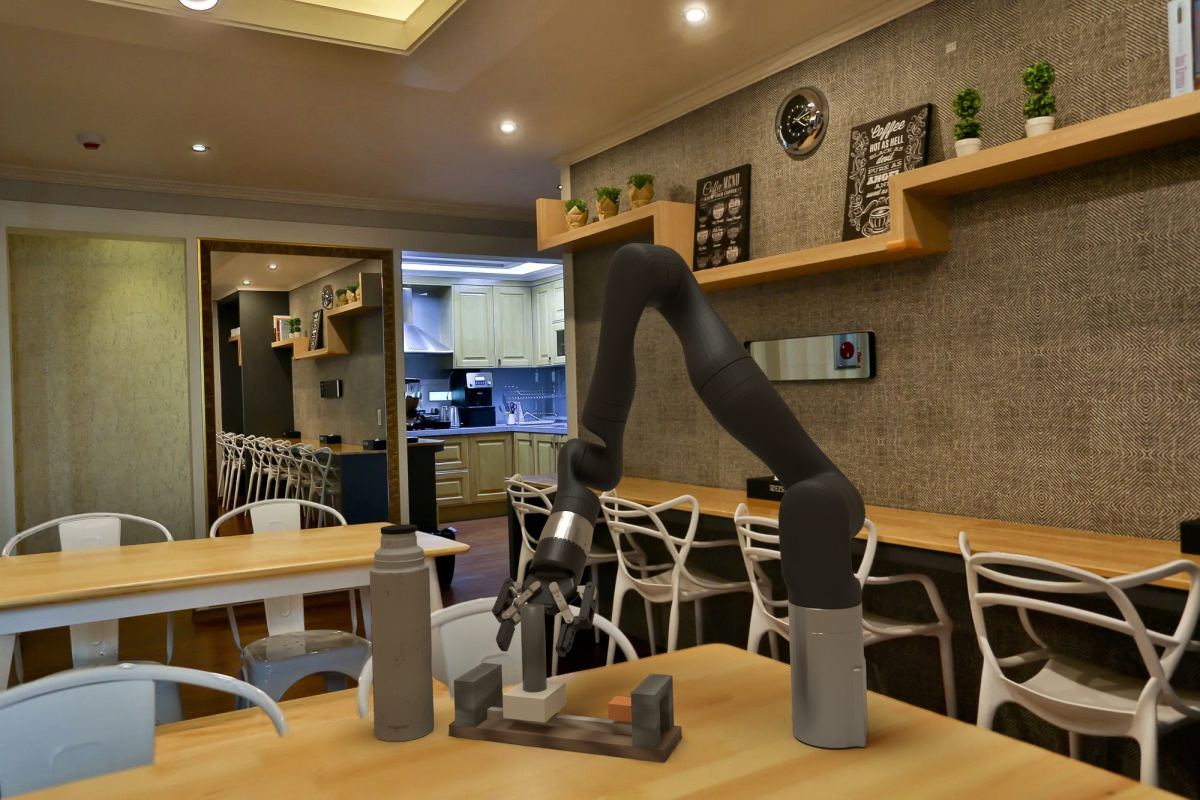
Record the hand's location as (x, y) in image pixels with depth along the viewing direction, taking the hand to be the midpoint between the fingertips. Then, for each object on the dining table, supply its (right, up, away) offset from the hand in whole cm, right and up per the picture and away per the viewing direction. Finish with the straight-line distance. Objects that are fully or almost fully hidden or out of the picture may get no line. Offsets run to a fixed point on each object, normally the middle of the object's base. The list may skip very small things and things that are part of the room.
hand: (530, 651), depth 112 cm
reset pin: (+13, -7, -4) cm, 16 cm away
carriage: (+1, -8, 0) cm, 8 cm away
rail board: (+4, -11, -1) cm, 12 cm away
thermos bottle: (-18, -12, +3) cm, 22 cm away
